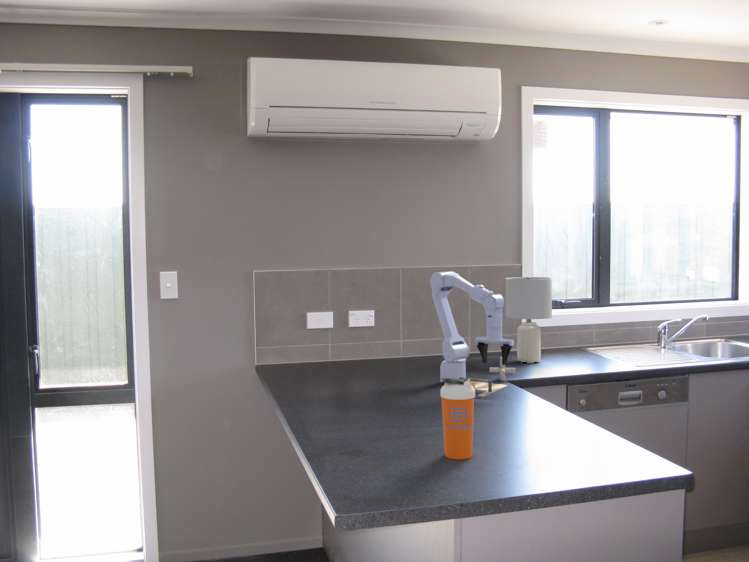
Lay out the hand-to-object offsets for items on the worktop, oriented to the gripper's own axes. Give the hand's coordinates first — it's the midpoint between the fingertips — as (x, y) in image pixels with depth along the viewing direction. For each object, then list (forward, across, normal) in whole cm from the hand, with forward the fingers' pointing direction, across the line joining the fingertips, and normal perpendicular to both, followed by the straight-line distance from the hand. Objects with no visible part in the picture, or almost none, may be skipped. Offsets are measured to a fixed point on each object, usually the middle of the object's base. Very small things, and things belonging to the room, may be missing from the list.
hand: (494, 363), depth 260 cm
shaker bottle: (+10, +25, -78) cm, 83 cm away
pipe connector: (+10, -3, +14) cm, 18 cm away
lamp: (+10, -12, +64) cm, 66 cm away
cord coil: (+10, -4, -13) cm, 17 cm away
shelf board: (+10, -4, -4) cm, 11 cm away
